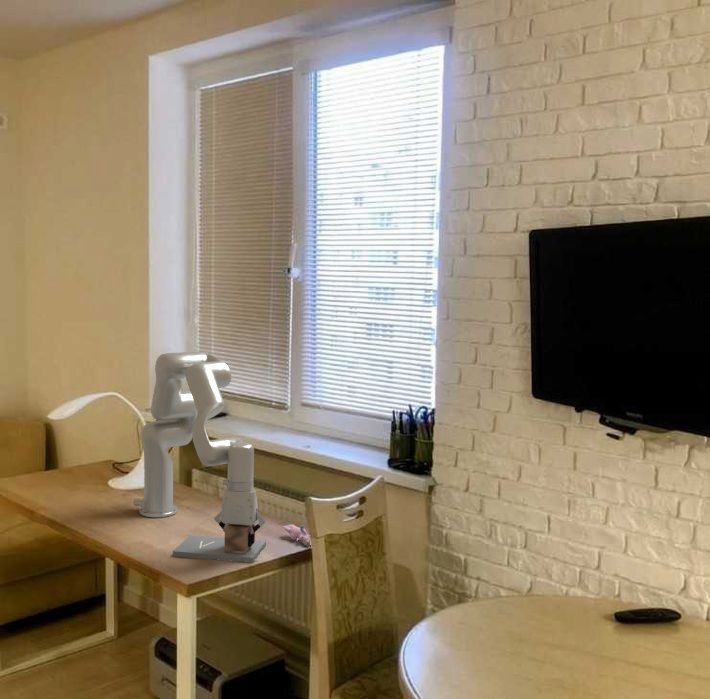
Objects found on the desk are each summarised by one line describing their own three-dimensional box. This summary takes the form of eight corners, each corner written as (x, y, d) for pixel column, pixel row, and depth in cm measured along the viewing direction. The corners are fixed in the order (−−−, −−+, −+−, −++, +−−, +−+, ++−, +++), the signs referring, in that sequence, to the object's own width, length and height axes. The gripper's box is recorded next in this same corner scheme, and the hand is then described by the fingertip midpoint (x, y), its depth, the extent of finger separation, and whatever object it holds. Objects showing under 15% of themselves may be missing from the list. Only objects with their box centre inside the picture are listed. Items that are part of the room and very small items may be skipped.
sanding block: (224, 552, 225) (224, 528, 224) (234, 540, 235) (235, 518, 234) (244, 553, 224) (244, 530, 224) (254, 542, 234) (254, 519, 233)
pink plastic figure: (321, 549, 238) (291, 529, 249) (323, 531, 237) (294, 512, 248) (305, 554, 234) (275, 533, 245) (307, 535, 233) (278, 515, 243)
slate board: (172, 556, 225) (172, 551, 225) (189, 540, 239) (189, 535, 239) (253, 562, 222) (253, 557, 222) (265, 546, 236) (265, 541, 236)
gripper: (207, 486, 225) (207, 546, 227) (265, 490, 223) (264, 551, 225) (216, 479, 233) (215, 538, 234) (272, 483, 230) (271, 542, 232)
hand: (239, 544), depth 229 cm, fingers closed on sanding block, 6 cm apart
